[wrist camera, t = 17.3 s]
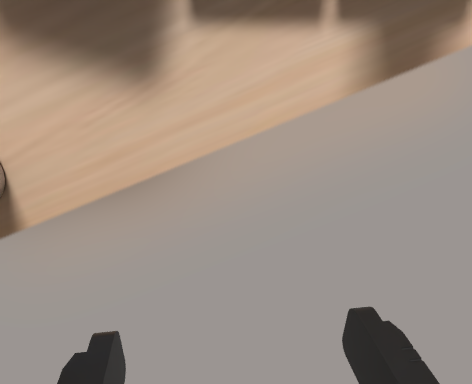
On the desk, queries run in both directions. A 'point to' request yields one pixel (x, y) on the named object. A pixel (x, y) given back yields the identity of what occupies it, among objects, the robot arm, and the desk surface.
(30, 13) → the desk surface
